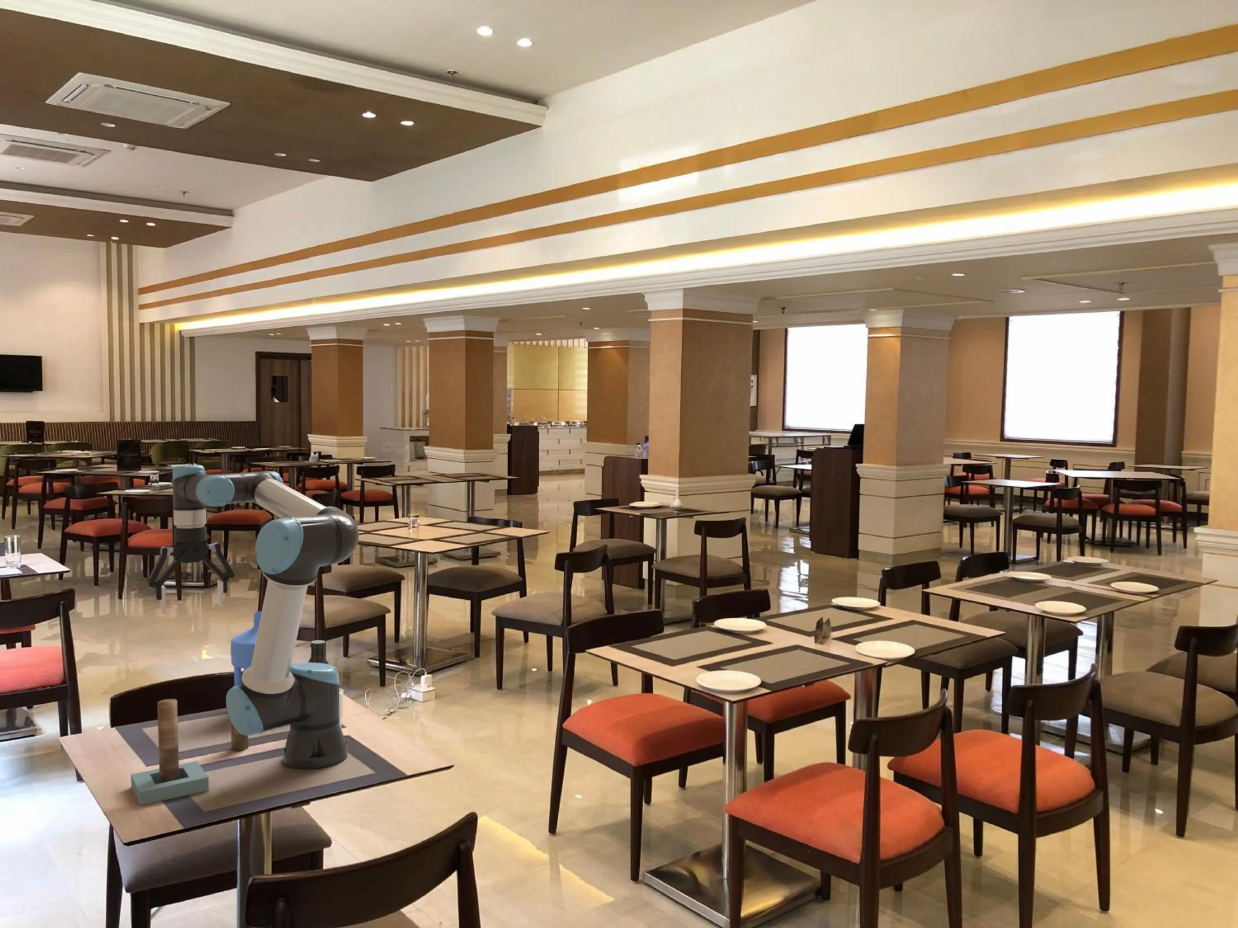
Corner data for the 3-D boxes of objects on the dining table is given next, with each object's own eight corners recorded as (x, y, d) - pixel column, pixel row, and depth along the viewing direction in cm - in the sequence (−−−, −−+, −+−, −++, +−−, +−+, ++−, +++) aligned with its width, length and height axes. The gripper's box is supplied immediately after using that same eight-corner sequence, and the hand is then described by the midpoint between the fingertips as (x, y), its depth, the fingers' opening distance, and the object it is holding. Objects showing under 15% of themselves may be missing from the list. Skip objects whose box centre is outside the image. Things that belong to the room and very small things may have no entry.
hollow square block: (131, 786, 217) (130, 773, 216) (197, 773, 225) (197, 760, 224) (140, 805, 207) (139, 791, 207) (208, 790, 215) (208, 777, 215)
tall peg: (183, 786, 217) (181, 700, 215) (168, 793, 213) (165, 705, 212) (171, 783, 218) (168, 698, 217) (155, 790, 215) (153, 703, 213)
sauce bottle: (304, 715, 266) (303, 645, 265) (305, 708, 272) (304, 639, 271) (329, 713, 268) (328, 643, 267) (329, 706, 274) (328, 638, 273)
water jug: (279, 697, 282) (276, 604, 280) (299, 710, 270) (297, 613, 268) (224, 708, 272) (221, 611, 271) (242, 722, 260) (240, 621, 258)
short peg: (251, 746, 242) (251, 711, 241) (239, 751, 238) (238, 716, 238) (240, 744, 244) (239, 709, 243) (227, 749, 240) (226, 714, 240)
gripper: (238, 521, 251) (240, 600, 253) (133, 528, 237) (135, 612, 238) (245, 524, 245) (247, 605, 247) (138, 531, 231) (140, 618, 232)
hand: (192, 609), depth 243 cm, fingers open, 13 cm apart
